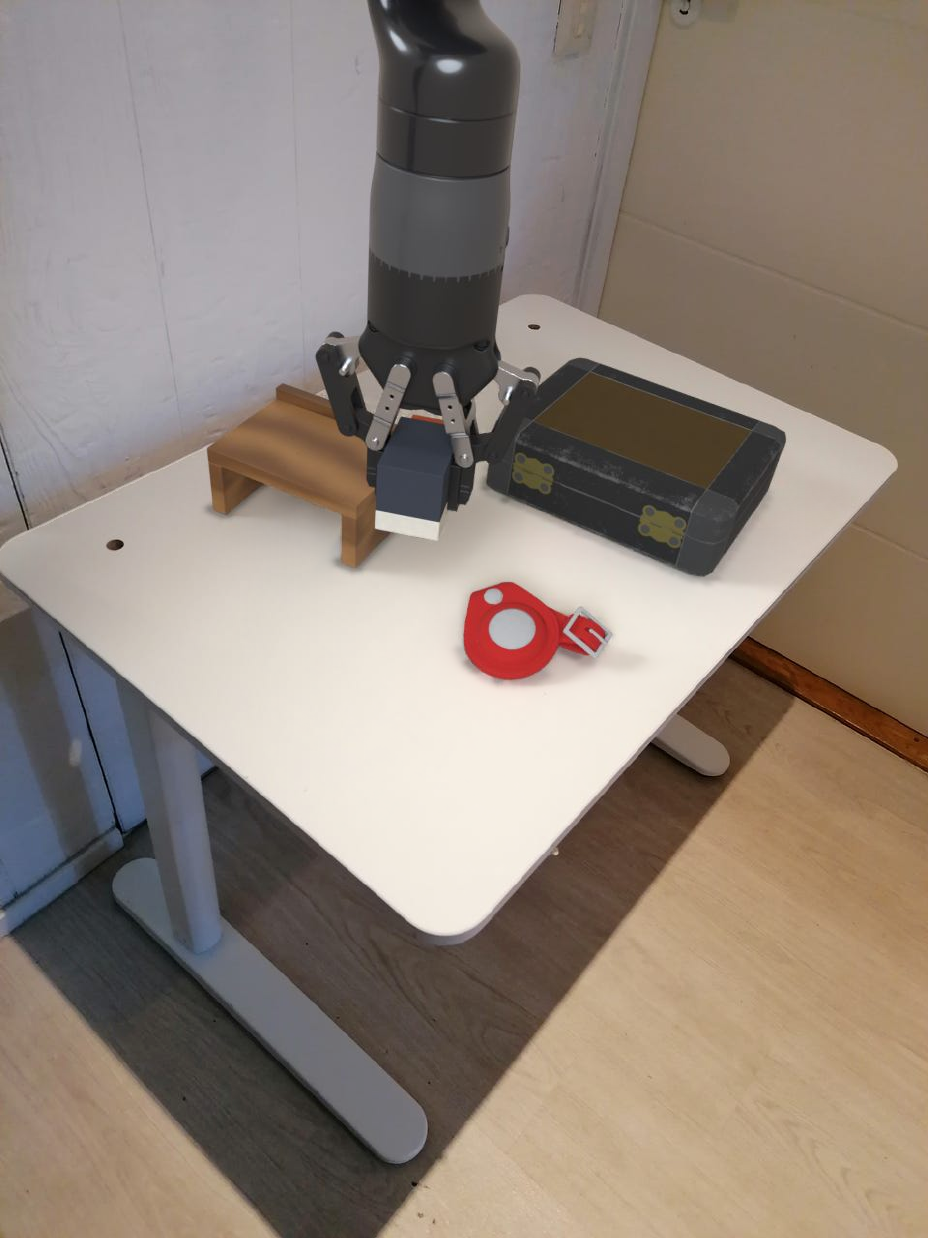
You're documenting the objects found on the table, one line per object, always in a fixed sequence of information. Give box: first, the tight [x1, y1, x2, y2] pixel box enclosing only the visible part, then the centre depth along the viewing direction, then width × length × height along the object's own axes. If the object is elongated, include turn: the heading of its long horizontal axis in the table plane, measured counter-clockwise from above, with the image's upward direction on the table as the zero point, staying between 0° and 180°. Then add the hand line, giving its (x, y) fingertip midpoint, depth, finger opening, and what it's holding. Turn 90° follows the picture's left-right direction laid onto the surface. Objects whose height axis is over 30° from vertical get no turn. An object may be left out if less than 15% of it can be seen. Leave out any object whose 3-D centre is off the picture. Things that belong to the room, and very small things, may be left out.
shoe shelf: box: [206, 382, 397, 569], centre depth 92 cm, size 12×16×8 cm
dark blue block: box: [375, 413, 454, 542], centre depth 64 cm, size 10×4×5 cm, turn 169°
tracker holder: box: [462, 581, 614, 681], centre depth 83 cm, size 12×4×10 cm
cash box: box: [485, 357, 787, 577], centre depth 100 cm, size 25×20×8 cm
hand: (419, 496), depth 65 cm, fingers closed on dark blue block, 4 cm apart
